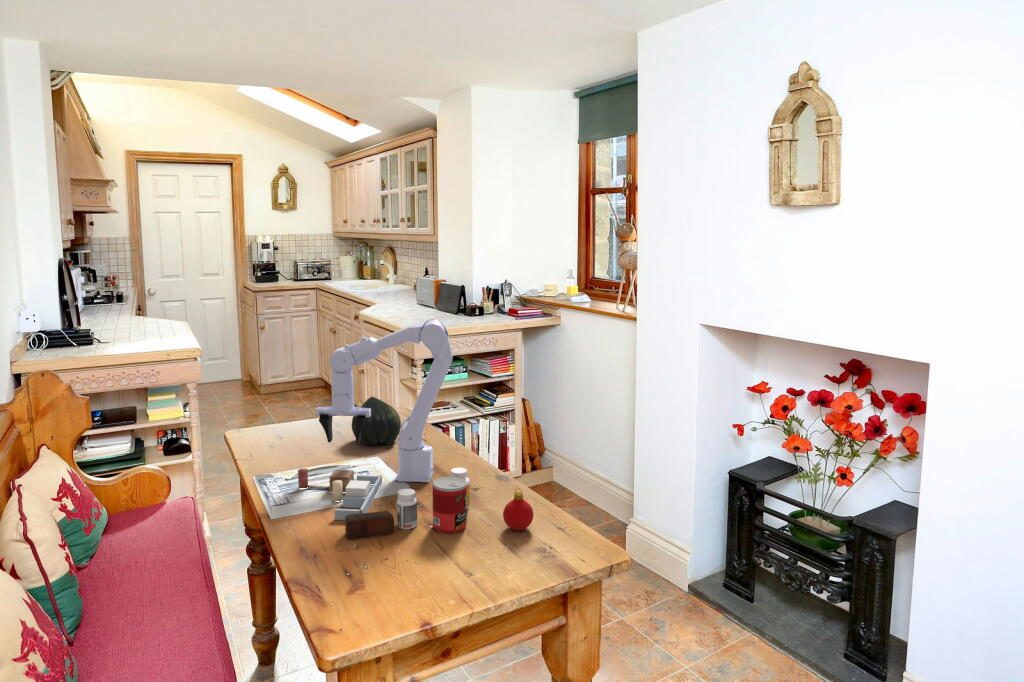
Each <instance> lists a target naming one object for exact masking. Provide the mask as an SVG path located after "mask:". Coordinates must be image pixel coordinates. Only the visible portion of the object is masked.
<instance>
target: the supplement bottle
mask: <svg viewBox="0 0 1024 682" xmlns="http://www.w3.org/2000/svg"><path fill="white" fill-rule="evenodd" d="M450 477H459V478H462V479H464V480H465V481H466V482H467V510H469V508H470V505H471V504H470V503H471V502H470V501H471V499H470V498H471V497H470V496H471V493H470V491H471V484H470V483H471V480H470V479H469V477H468V469H466V468H464V467H454V468H452V469H451V470H450Z"/></svg>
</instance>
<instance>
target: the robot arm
mask: <svg viewBox="0 0 1024 682" xmlns="http://www.w3.org/2000/svg"><path fill="white" fill-rule="evenodd" d="M409 342H410V343H414V344H418V345H420V344H421V343H420V342H422V344H423V345H424V346H425V347H426V348H427V349H428V350H429V351H430V353H431V355H432V358H433V361H432V364H431V366H430V368H429V370H428V372H427V375H426V378H425V380H424V382H423V384H422V387H421V389H420V391H419V393H418V396H417V398H416V401H415V402H414V406H413V408H412V410H411V411H410V414H409V415H408V417H407V418H406V419H404V420H403V422H401V428H400V432H399V435H398V442H399V443H398V444H397V446H398V447H397V451H398V452H397V453H398V454H397V455H398V456H397V457H398V463H397V464H398V472H397V475H396V477H395V478H394V481H395V480H398V481H397V482H404V483H405V482H407V483H408V482H409V483H410V482H413V483H414V482H415V483H430V482H431V479H432V478H433V477H432V476H433V474H434V448H433V446H431V445H430V446H429V445H426V443H425V441H424V440H423V434H424V429H425V427H426V426H425V425H426V423H427V419H428V417H429V415H430V413H431V411H432V408H433V406H434V404H435V402H436V400H437V397H438V395H439V391H440V390H441V387H442V386H443V382H444V381H445V378H446V377H447V373H448V372H449V369H450V367H451V365H452V362H453V358H454V356H453V350H452V345H451V341H450V335H449V331H448V330H447V328H446V326H445V324H444V323H443V321H441V320H439V319H437V318H429V319H428V320H426V321H425V322H424V321H419V322H416V323H413V324H411V325H408V326H406V327H403V328H401V329H398V330H397V331H394V332H392V333H390V334H387V335H385V336H382V337H380V338H378V339H377V338H374V337H372V336H370V337H368V338H367V336H364V337H361V338H360V341H357V342H355V343H352V344H349V343H347V344H344V347H338V348H336V349H335V350H334V351H333V352H332V353H331V355H330V358H329V367H330V368H331V371H330V372H331V379H330V380H331V406H318V407H316V408H315V416H316V417H319V418H318V422H319V424H320V425H321V427H322V429H323V430H324V433H325V436H326V439H327V442H328V443H331V442H332V441H333V417H334V416H340V417H353V416H357V418H356V419H355V427H356V437H355V443H356V444H359V443H361V442H360V439H361V433H362V430H363V427H364V424H365V422H366V419H367V417H370V416H371V408H361V406H355V395H354V394H355V392H354V391H355V390H354V373H353V366H360V365H361V364H364V363H367V362H369V361H371V360H374V359H376V358H377V359H378V358H379V357H380V355H381V352H383V351H384V350H385V351H386V350H387V349H391V348H394V347H397V346H399V345H401V344H405V343H409Z"/></svg>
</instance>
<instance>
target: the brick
mask: <svg viewBox="0 0 1024 682" xmlns="http://www.w3.org/2000/svg"><path fill="white" fill-rule="evenodd" d="M344 525H345V526H344V527H345V528H344V531H345V532H344V533H345V536H346V539H347V540H358V539H365V538H366V539H368V538H373V537H374V538H375V537H380V536H381V537H383V536H389V535H393V532H394V530H395V518H394V514H392V513H391V512H389V511H388V510H380V511H372V512H367V513H361V514H351V515H347V516H345V520H344Z"/></svg>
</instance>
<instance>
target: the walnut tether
mask: <svg viewBox="0 0 1024 682" xmlns="http://www.w3.org/2000/svg"><path fill="white" fill-rule="evenodd" d="M308 474H309V473H308V469H307V468H299V469H297V477H298V479H297V480H298V489H299V488H307V487H308V489H314V488H328V489H327V490H329V493H330V492H333V484H332V482H333V481H335V480H341V481H342V492H346V489H345V488H346V486H347V485H348V483H349V482H350V480H355V472H354V469H334V470H333V472H332V473H331V474H330V476H329V477H328V478H329V486H328V485H309V477H308V476H309V475H308Z"/></svg>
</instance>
